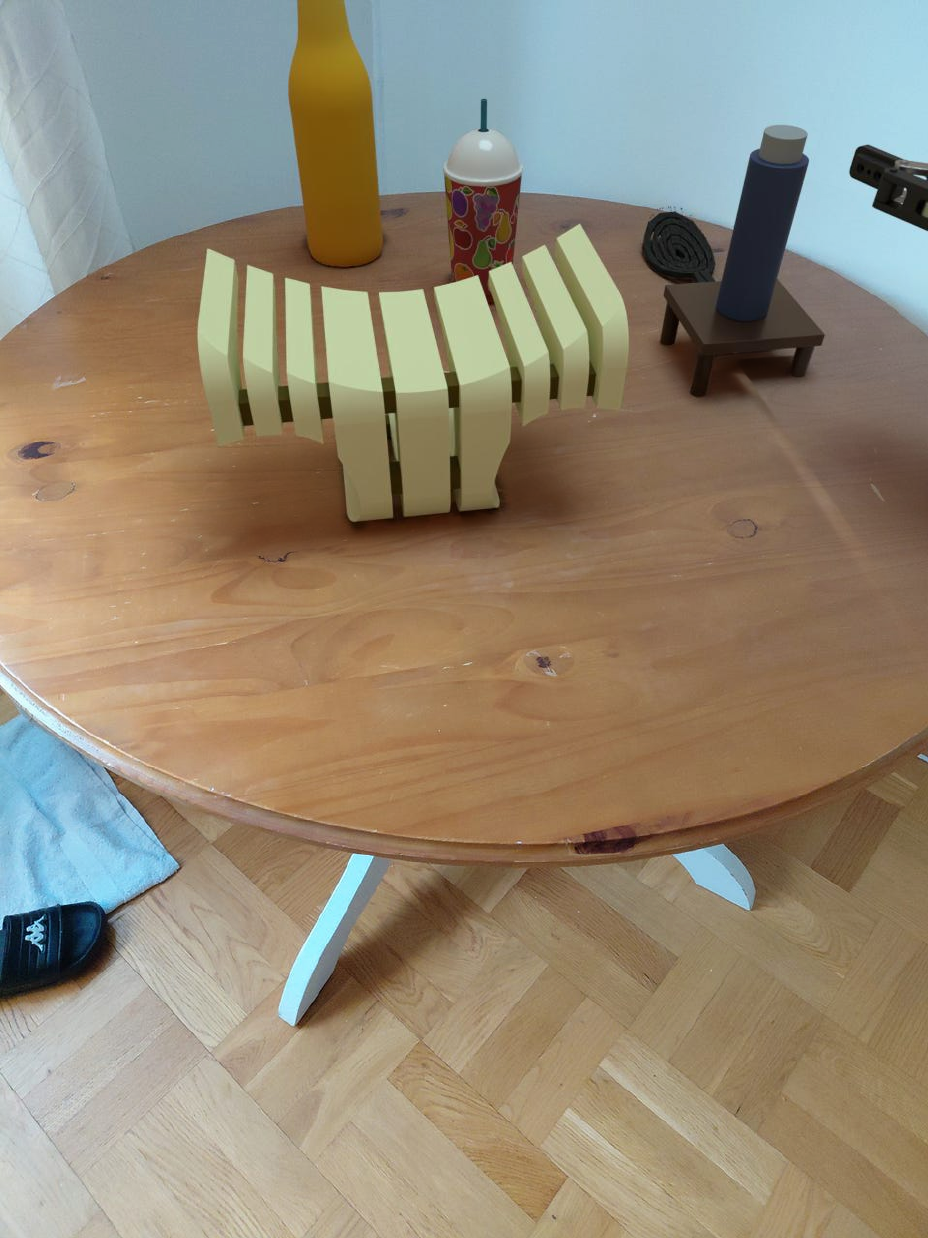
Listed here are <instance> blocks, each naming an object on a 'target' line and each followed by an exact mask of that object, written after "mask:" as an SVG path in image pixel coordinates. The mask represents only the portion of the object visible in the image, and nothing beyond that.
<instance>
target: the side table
mask: <svg viewBox="0 0 928 1238" xmlns="http://www.w3.org/2000/svg"><path fill="white" fill-rule="evenodd" d="M721 282H722V280H715V282H701V283H694V282H688V283H675V284H665V285H664V291H663V297H664V299H665V300H666V305H665V310H664V311H665V312H664V316H663V322H662V327H661V333H660V340H659V343H660V344H661V345H663V346H665V347H672V346H674V345H675V344H676V341H677V340H676V339H677V335H678V330H679V326H680V325H679V324H680V323H681V326H682V327H683V330H685V332H686V334H687V335H688V337H689V338H690V340H691V342H692V343H693V344H694V346H695V348H696V350H697V352H698V353H697V357H696V362H695V365H694V369H693V370H694V371H693V375H692V379H691V385H690V389H689V394H690V395H691V396H692V397H695V398H704V397H705V396H706V395H707V392H708V388H709V383H710V380H711V374H712V371H713V367H714V362H715V358H716V355H723V354H733V353H735V354H736V353H747V352H760V351H772V350H773V351H774V350H784V349H785V350H786V349H795V351H794V353H793V357H792V361H791V363H790V367H789V369H788V373H789V375H790V376H792V377H795V378H804V377H805V376H806V375H807V372H808V369H809V366H810V363H811V360H812V356H813V353H814V351H815V347H821V346H822V345H823V342H824V339H825V336H826V334H825V333H824V332H823V330H822V329H821V328H820V326H818V324H817V323H816V322H815V321H814V320H813V319H812V318H811V316H810V315H809V314H808V313H807V312H806V311H805V309H804V308H803V307H802V305H801V304H799V302H798V301H797V300H796V299H795V297H794V296H793V295H792V294H791V293H790V291H788V290H787V288H786V287H785V286H784V284H783V283H782V282H781V281H780V280H779V279H778V278H777V281H776V284H775V288H774V292H773V295H772V299H771V302H770V306H769V310H768V313H767V315H766V316H765V317H764V318H762V319H760V320H756V321H738V320H733V319H730V318H727V317H725V316H723V315H722V314H720V313H719V312H718V310H717V308H716V304H717V299H718V295H719V290H720V286H721Z"/></svg>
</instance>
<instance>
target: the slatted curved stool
mask: <svg viewBox="0 0 928 1238" xmlns="http://www.w3.org/2000/svg"><path fill="white" fill-rule="evenodd" d="M555 239H556V240H555V254H554V260H553V258H552V255H551V254H550V252H549V249H548V247H547V246H546V244H543V245H542V246H540V247H537V248H535V249H534V250H532V251H530V252H528V253H526V254H523V255H522V258H521V274H522V277H523V279H524V282H525V284H526V288H527V289H528V292H529V295H530V298H531V300H532V303H533V307H534V308H535V312H536V316H537V319H538V323H537V320H536V319H535V315H534V313H533V310H532V308H531V306H530V304H529V300H528V299H527V296H526V293H525V292H524V290H523V289H524V288H523V287H522V284H521V282H520V280H519V277H518V275H517V272H516V270H515V267H514V264H513V265H512V263H511V262H510V263H507V264H505V265H502V266H500V267H498V268H495V269H493V270H491V271H489V288H490V291H491V293H492V296H493V299H494V306H495V308H496V312H497V316H498V319H499V322H500V326H501V329H502V335H503V338H504V342H505V346H506V351H507V355H506V352H505V349H504V346H503V343H502V341H501V340H502V339H501V337H500V335H499V332H498V329H497V326H496V323H495V320H494V317H493V314H492V312H491V309H490V305H489V303H487V300H486V297H485V294H484V291H483V288H482V286H481V283H480V280H479V277H478V275H477V276H474V277H471V278H468V279H464V280H461V281H458V282H454V283H452V282H450V283H447V284H443V285H437V286H434V287H433V297H434V298H433V299H434V304H435V308H436V312H437V316H438V320H439V324H440V330H441V333H442V338H443V342H444V343H443V344H444V348H445V353H446V358H447V364H448V370H449V371H448V372H444V368H443V363H442V361H441V356H440V352H439V348H438V343H437V340H436V335H435V331H434V328H433V324H432V320H431V315H430V311H429V307H428V304H427V300H426V296H425V295H426V294H425V292H424V289H423V288H420V289H413V290H404V291H403V290H402V291H379V292H378V302H379V303H378V304H379V309H380V314H381V315H380V316H381V320H382V326H383V334H384V340H385V347H386V354H387V361H388V368H389V369H388V370H389V376H386V377H381V372H380V371H381V370H380V366H379V364H380V363H379V358H378V353H377V352H378V351H377V345H376V337H375V331H374V326H373V325H374V324H373V320H372V319H373V318H372V313H371V306H370V305H371V304H370V299H369V293H368V291H360V290H347V289H340V288H334V287H328V286H322V285H321V286H320V287H321V289H320V290H321V300H322V313H323V314H322V315H323V326H324V338H325V340H324V341H325V349H326V350H325V352H326V362H327V363H326V365H327V366H326V367H327V376H328V377H327V378H328V381H327V382H319V375H318V367H317V355H316V344H315V342H316V341H315V331H314V316H313V303H312V302H313V300H312V292H311V285H310V283H307V282H304V281H300V280H298V279H297V280H296V279H293V278H288V277H284V282H285V283H284V286H285V287H284V288H285V338H286V339H285V345H286V348H285V350H286V351H285V352H286V356H285V357H286V379H287V385H281V384H282V383H281V377H280V367H279V355H278V353H279V352H278V338H277V335H278V334H277V307H276V306H277V303H276V302H277V300H276V299H277V298H276V296H277V295H276V284H275V278H274V273H272V272H269V271H266V270H263V269H260V268H258V267H255V266H252V265H249V264H246V265H247V266H246V286H245V303H244V304H245V306H244V324H243V325H244V327H243V343H242V344H243V345H242V346H243V347H242V362H243V363H242V364H243V371H244V378H245V386H246V388H243V384H242V383H243V382H242V377H241V369H240V358H239V356H240V355H239V342H238V341H239V340H238V311H239V310H238V309H239V308H238V305H239V284H240V283H239V276H238V270H237V266H236V265H237V264H236V261H235V259H233V258H232V257H230V256H227V255H224V254H222V253H220V252H217V251H215V250H213V249H210V248H208V247H207V248H206V255H205V257H206V258H205V265H204V274H203V280H202V281H203V282H202V290H201V298H200V305H199V314H198V321H197V349H198V350H197V351H198V360H199V368H200V373H201V380H202V386H203V390H204V395H205V399H206V403H207V408H208V411H209V415H210V418H211V423H212V426H213V431H214V434H215V438H216V443H217V446H218V448H220V447H222V446H225V445H229V444H232V443H237V442H240V441H243V440H245V427H249V426H253V427H254V431H255V436H256V438H257V437H267V436H283V435H284V427H283V426H284V423H293V425H294V432H295V436H296V437H301V438H305V439H308V440H312V441H315V442H317V443H320V444H322V445H325V443H324V427H323V420H331V419H332V421H333V429H334V437H335V443H336V451H337V459H338V460H339V461H340V463H341V464H342V469H343V480H344V493H345V494H344V495H345V504H346V514H347V517H348V519H349V521H350V522H353V523H355V522H365V521H377V520H385V519H393V518H394V507H393V496H397V495H398V496H399V498H400V504H401V510H402V515H403V517H404V518H406V517H416V516H426V515H436V514H437V515H438V514H447V513H450V511H451V490H453V494H454V499H455V503H456V507H457V510H458V511H459V512H465V511H477V510H487V509H496V508H499V507H500V497H499V494H498V490H497V486H496V482H495V481H496V477H497V474H498V472H499V468H500V465H501V462H502V460H503V457H504V456H505V453H506V451H507V449H508V447H509V445H510V443H511V433H512V414H513V413H512V412H513V411H512V409H513V404H515V408H516V411H517V414H518V416H519V420H520V422H521V425H522V427H524V426H526V425H528V424H529V423H531V422H532V421H534V420H536V419H539V418H541V417H543V416H545V415H548V414H549V409H550V400H551V401H552V400H556V402H557V405H558V407H559V409H560V411H565V410H573V409H586V404H587V397H591V398H592V401H593V403H594V405H595V407H596V409H600V410H610V411H616V412H621V410H622V404H623V398H624V397H623V396H624V392H625V391H624V390H625V385H626V384H625V383H626V378H627V370H628V363H629V354H630V353H629V352H630V347H629V346H630V336H629V335H630V334H629V321H628V315H627V309H626V306H625V302H624V299H623V296H622V294H621V292H620V291H619V289H618V287H617V285H616V283H615V282H614V280H613V279H612V277H611V275H610V274H609V272H608V269H607V268H606V266H605V264H604V263H603V261H602V260H601V258H600V256H599V254H598V253H597V251H596V249H595V247H594V245H593V244H592V243H591V240H590V238H589V237H588V235H587V233H586V232H585V229H584V228H583V226H582V224H581V223H578V224H577V225H575V226H574V227H571V228H570V229H569V230H567V231H565V232H564V233H562V234H560V235H559V236H557V237H556V238H555ZM554 261H555V262H554ZM557 266H558V267H557ZM558 268H559V270H558ZM559 271H560V272H559ZM561 275H562V276H561ZM564 282H565V283H564ZM538 325H539V326H538ZM388 437H389V438H390V439H391V446H392V453H393V458H394V460H393V461H390V459H389V446H388Z"/></svg>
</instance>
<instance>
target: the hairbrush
mask: <svg viewBox="0 0 928 1238" xmlns="http://www.w3.org/2000/svg"><path fill="white" fill-rule="evenodd" d="M667 208H668V210H670V209H672V206H669V205H668V207H667ZM673 208H674V209H676V206H674V207H673ZM661 209H662V210H664V207H659V208H657V209H656V210H657V211H659V210H660V212H657V214H656V215H655V213H652V216H649V219H650V220H648V221H647V224H646V228H645V230H644V235H643V240H642V246H641V249H642V250H641V251H642V253H643V255H644V258H645V260H646V263H647V265H648V268H649V269H651V270H653V271H654V272H655V273H657V274H658V275H660V276H662V277H667V278H671V279H677V280H691V281H692V283H701V282H715V281H716V279H715V278H714V277H713V275H714V270H715V268H716V264H717V263H716V260H715V255H714V252H713V248H712V247H711V245H710V243H709V242H708V239H707V237H706V236H705V234H704V233H703V231H702V229H701V228H699V227H698V225H697V224H696V223H695V221H694V220H692V218H691V219H690V218H688V217H687V215H686V216H685V215H684V213H683V211H681V213H679V212H677V211H676V210H674V211H672V210H670V211H665V212H664V211H663V212H662V211H661ZM680 210H683V207H680ZM654 215H655V216H654ZM689 216H690V217H692V214H690V215H689ZM651 218H652V219H651Z"/></svg>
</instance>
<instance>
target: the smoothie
mask: <svg viewBox="0 0 928 1238" xmlns="http://www.w3.org/2000/svg"><path fill="white" fill-rule="evenodd" d="M442 170H443V171H442V172H443V173H444V174H443V175H444V178H443V179H444V190H445V205H446V206H445V207H446V217H447V231H448V244H449V256H450V257H449V259H450V271H451V283H454V282H458V281H461V280H464V279H468V278H471V277H474V276H477V275H478V277H479V280H480V283H481V286H482V288H483V291H484V294H485V297H486V300H487V303H488V304H490V303H493V302H494V299H493V296H492V293H491V291H490V288H489V271H491V270H493V269H495V268H498V267H500V266H502V265H505V264H507V263H510V262H511V263H512V265H513V266H514V258H515V257H514V256H515V246H516V237H517V227H518V218H519V206H520V197H521V187H522V176H523V171H524V166H523V164H522V162H521V161H520V159H519V157H518V154H517V151H516V149H515V147H514V145H513V144H512V142H511V141H510V139H509V138H508V137H507V136H505V135H504V134H503V133H501V132H499V131H497V130H495V129H492V128H488V98H480V127H479V128H475V129H471V130H469V131H467V132H466V133H464V134H463V135H461V136H460V137H459V138H458V139H457V141H456V142H455V143H454V145H453V147H452V148H451V150H450V153H449V156H448V158H447V160H446V161H445V162H444V164H443V167H442Z"/></svg>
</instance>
